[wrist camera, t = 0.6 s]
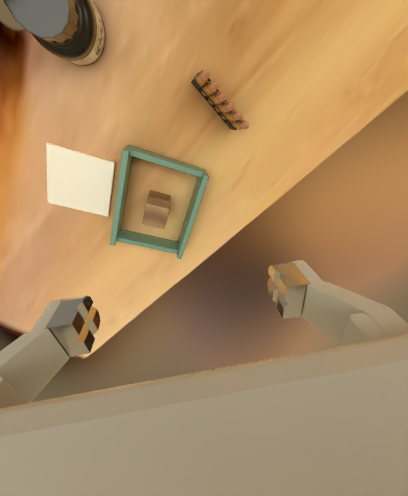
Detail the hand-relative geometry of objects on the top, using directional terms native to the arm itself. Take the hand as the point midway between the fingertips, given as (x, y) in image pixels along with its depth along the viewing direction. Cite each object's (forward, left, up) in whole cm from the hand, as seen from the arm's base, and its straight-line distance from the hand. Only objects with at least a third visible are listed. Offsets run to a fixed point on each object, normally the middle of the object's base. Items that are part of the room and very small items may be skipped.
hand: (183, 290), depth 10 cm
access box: (+12, -1, -41) cm, 43 cm away
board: (+12, -17, -41) cm, 46 cm away
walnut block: (+12, -1, -42) cm, 43 cm away
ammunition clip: (-10, +5, -42) cm, 43 cm away
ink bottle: (-12, -19, -42) cm, 47 cm away
